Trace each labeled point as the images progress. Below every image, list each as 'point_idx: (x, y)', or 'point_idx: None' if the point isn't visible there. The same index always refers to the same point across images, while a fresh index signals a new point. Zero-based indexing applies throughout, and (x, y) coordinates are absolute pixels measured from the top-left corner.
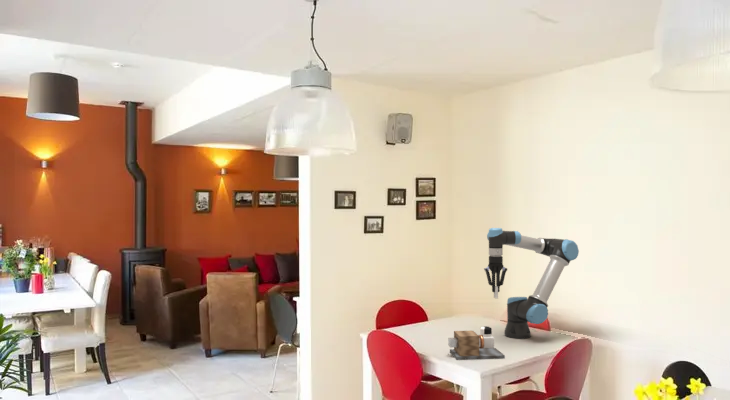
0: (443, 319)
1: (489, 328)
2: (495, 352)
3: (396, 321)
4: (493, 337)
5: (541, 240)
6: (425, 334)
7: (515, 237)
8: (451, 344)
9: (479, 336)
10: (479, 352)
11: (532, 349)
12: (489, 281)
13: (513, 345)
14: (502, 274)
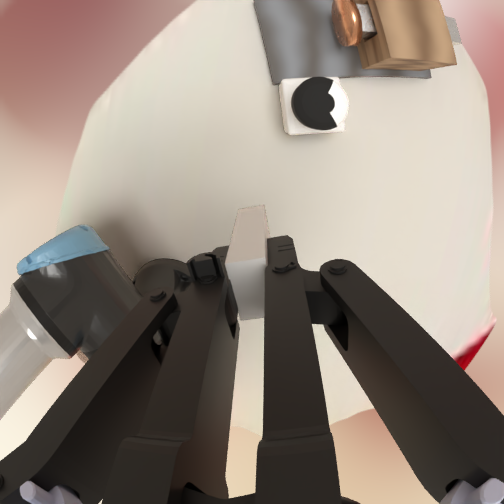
0: (349, 414)
1: (306, 84)
2: (282, 28)
3: None
4: (284, 81)
5: None
6: (446, 286)
7: None
8: None
9: (357, 14)
10: None
11: (137, 124)
12: (380, 292)
13: (194, 167)
14: (97, 435)
